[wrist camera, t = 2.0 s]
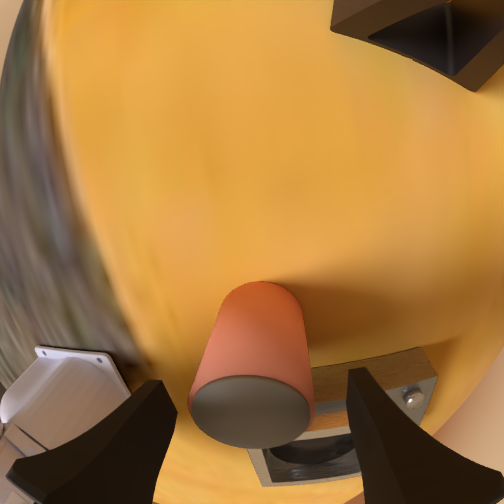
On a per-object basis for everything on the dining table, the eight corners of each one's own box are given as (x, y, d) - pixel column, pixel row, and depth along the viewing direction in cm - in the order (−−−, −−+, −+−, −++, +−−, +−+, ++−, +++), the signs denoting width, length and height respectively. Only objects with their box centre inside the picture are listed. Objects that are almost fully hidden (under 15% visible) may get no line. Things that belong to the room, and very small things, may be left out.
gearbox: (259, 445, 19) (255, 489, 15) (238, 374, 16) (228, 429, 12) (398, 425, 18) (411, 464, 13) (420, 346, 15) (448, 392, 11)
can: (228, 354, 16) (205, 450, 9) (211, 286, 15) (167, 376, 8) (305, 347, 15) (316, 447, 9) (298, 276, 14) (314, 369, 7)
